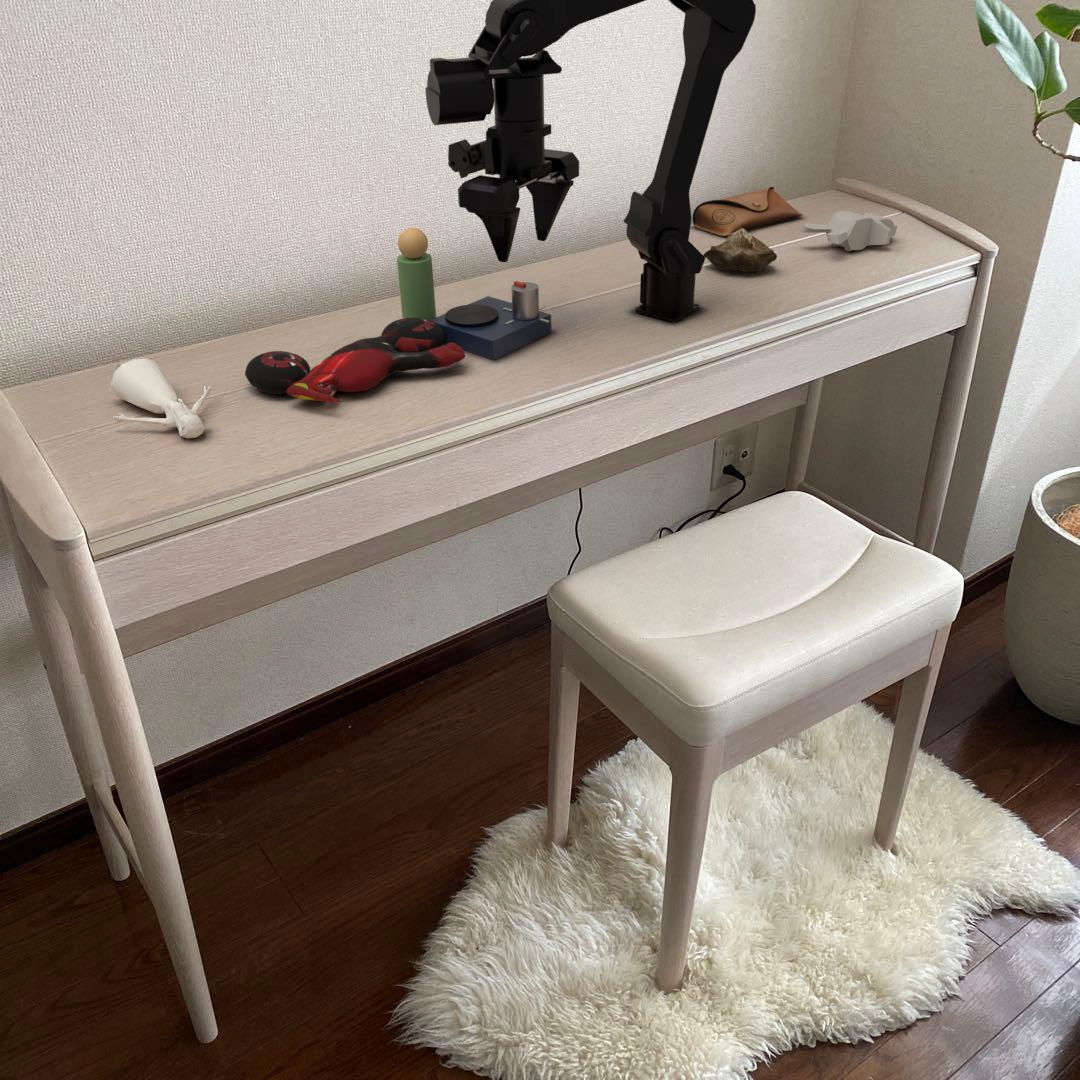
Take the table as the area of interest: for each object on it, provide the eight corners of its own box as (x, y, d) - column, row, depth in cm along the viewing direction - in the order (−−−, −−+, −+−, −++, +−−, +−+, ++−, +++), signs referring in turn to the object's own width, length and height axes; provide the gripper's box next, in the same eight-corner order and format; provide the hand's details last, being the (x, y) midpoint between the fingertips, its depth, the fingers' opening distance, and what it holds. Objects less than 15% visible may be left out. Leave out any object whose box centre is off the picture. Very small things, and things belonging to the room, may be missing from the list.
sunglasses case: (727, 235, 167) (715, 194, 166) (700, 249, 173) (687, 209, 172) (806, 214, 175) (795, 175, 175) (777, 227, 182) (766, 189, 181)
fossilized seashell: (696, 258, 152) (763, 278, 150) (713, 213, 151) (780, 233, 149) (704, 270, 159) (768, 289, 157) (720, 227, 159) (784, 246, 156)
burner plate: (509, 315, 135) (509, 312, 135) (473, 332, 131) (472, 328, 131) (471, 304, 139) (470, 300, 139) (434, 319, 135) (433, 315, 134)
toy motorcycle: (241, 391, 126) (285, 422, 114) (232, 349, 124) (276, 375, 112) (429, 349, 138) (488, 373, 125) (424, 310, 135) (483, 330, 123)
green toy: (443, 324, 140) (436, 227, 133) (419, 334, 137) (411, 235, 130) (420, 317, 142) (412, 221, 135) (396, 327, 139) (386, 229, 132)
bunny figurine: (914, 219, 160) (842, 224, 153) (905, 253, 163) (835, 260, 156) (868, 205, 167) (797, 209, 160) (860, 237, 170) (791, 243, 163)
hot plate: (567, 332, 137) (567, 312, 135) (503, 363, 129) (502, 342, 127) (496, 310, 144) (495, 291, 142) (430, 338, 136) (429, 319, 134)
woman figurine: (171, 338, 125) (243, 396, 115) (177, 372, 128) (249, 432, 117) (73, 366, 119) (140, 430, 108) (82, 401, 122) (149, 467, 111)
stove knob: (544, 314, 135) (543, 283, 133) (527, 322, 133) (526, 290, 131) (524, 308, 137) (523, 277, 135) (507, 316, 135) (505, 285, 133)
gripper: (503, 96, 132) (507, 222, 141) (414, 126, 119) (425, 263, 127) (581, 104, 127) (581, 233, 136) (498, 136, 114) (503, 277, 122)
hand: (522, 250), depth 130 cm, fingers open, 9 cm apart
